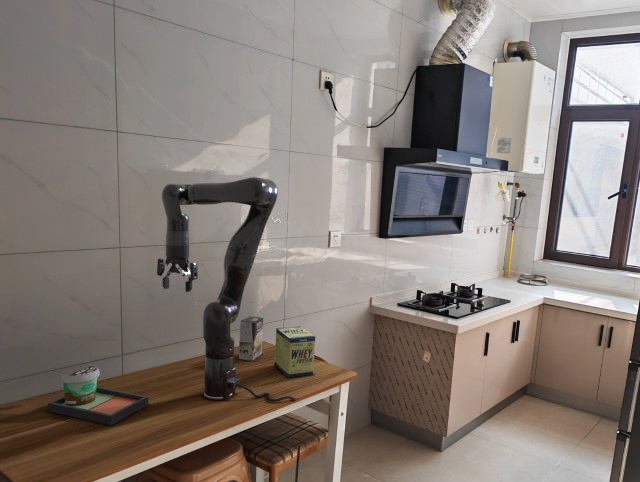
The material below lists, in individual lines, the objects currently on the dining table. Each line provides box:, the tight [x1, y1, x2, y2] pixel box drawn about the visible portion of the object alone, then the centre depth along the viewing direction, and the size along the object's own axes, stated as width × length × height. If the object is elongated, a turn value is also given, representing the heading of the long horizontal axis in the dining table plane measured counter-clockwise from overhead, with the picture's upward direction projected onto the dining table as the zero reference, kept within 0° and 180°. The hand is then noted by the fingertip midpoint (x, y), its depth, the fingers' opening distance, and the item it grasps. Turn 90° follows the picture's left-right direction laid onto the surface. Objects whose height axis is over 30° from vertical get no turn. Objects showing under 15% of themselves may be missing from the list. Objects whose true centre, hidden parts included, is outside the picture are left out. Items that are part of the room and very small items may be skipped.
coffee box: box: [238, 315, 264, 362], centre depth 225 cm, size 9×6×16 cm
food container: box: [60, 363, 101, 406], centre depth 169 cm, size 12×6×10 cm, turn 168°
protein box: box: [273, 326, 316, 379], centre depth 215 cm, size 10×16×16 cm
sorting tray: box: [47, 386, 149, 426], centre depth 169 cm, size 22×16×3 cm
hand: (177, 290), depth 189 cm, fingers open, 8 cm apart
